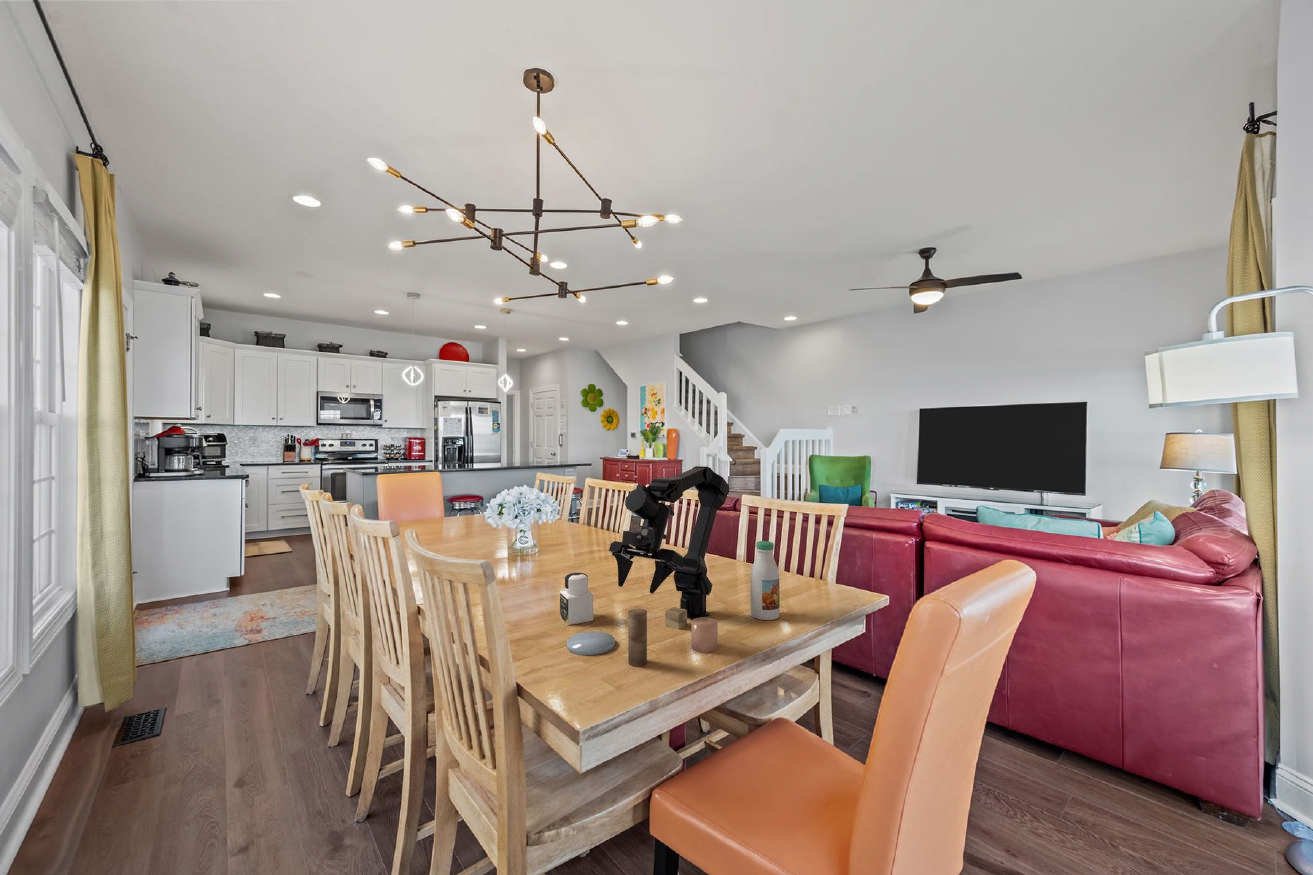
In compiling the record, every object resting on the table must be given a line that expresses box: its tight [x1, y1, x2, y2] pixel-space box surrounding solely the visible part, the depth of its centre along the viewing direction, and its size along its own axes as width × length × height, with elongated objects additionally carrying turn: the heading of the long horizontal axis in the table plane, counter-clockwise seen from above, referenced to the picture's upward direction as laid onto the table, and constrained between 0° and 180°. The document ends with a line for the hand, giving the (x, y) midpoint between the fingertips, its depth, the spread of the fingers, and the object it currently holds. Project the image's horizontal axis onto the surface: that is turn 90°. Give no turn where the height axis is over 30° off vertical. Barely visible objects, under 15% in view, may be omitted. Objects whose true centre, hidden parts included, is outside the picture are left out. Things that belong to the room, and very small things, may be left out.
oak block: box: [664, 606, 688, 630], centre depth 135 cm, size 4×4×4 cm
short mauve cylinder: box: [691, 616, 719, 654], centre depth 121 cm, size 6×6×6 cm
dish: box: [566, 631, 616, 656], centre depth 122 cm, size 11×11×1 cm
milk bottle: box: [749, 540, 781, 621], centre depth 142 cm, size 8×8×20 cm
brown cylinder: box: [627, 608, 648, 668], centre depth 113 cm, size 4×4×11 cm
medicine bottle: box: [559, 572, 594, 626], centre depth 140 cm, size 7×7×12 cm
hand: (635, 589), depth 122 cm, fingers open, 9 cm apart
